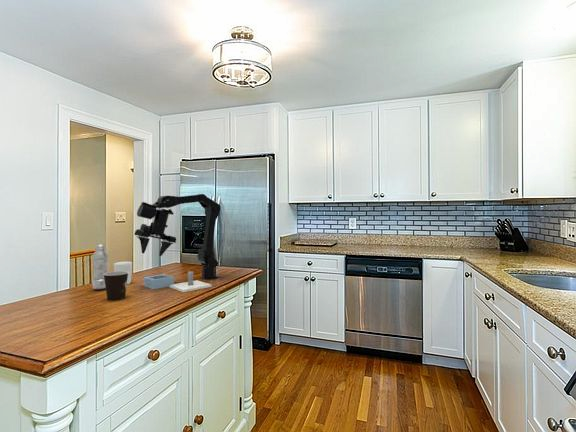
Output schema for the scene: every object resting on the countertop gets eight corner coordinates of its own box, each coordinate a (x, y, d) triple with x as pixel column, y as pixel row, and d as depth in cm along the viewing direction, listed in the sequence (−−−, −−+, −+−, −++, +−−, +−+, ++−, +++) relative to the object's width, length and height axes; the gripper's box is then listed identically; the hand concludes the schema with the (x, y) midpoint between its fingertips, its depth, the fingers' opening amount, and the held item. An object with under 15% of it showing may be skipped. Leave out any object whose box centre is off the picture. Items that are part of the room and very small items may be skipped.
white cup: (126, 285, 148) (126, 264, 148) (110, 285, 149) (110, 264, 148) (135, 281, 156) (135, 261, 156) (119, 281, 156) (119, 261, 156)
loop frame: (164, 282, 155) (164, 274, 155) (174, 285, 148) (174, 277, 148) (143, 285, 148) (143, 277, 148) (152, 289, 141) (152, 280, 141)
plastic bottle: (112, 287, 144) (112, 243, 144) (102, 291, 137) (102, 245, 137) (99, 287, 145) (99, 243, 144) (88, 290, 138) (88, 245, 138)
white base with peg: (196, 282, 155) (196, 268, 155) (211, 286, 146) (211, 271, 146) (169, 287, 145) (169, 272, 145) (183, 292, 136) (183, 276, 136)
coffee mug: (117, 301, 121) (117, 276, 121) (98, 300, 123) (98, 275, 123) (137, 294, 133) (137, 270, 133) (120, 293, 134) (119, 269, 134)
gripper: (165, 224, 159) (158, 254, 157) (132, 215, 144) (122, 249, 142) (180, 226, 154) (172, 258, 151) (146, 217, 138) (137, 252, 136)
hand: (151, 254), depth 145 cm, fingers open, 9 cm apart
